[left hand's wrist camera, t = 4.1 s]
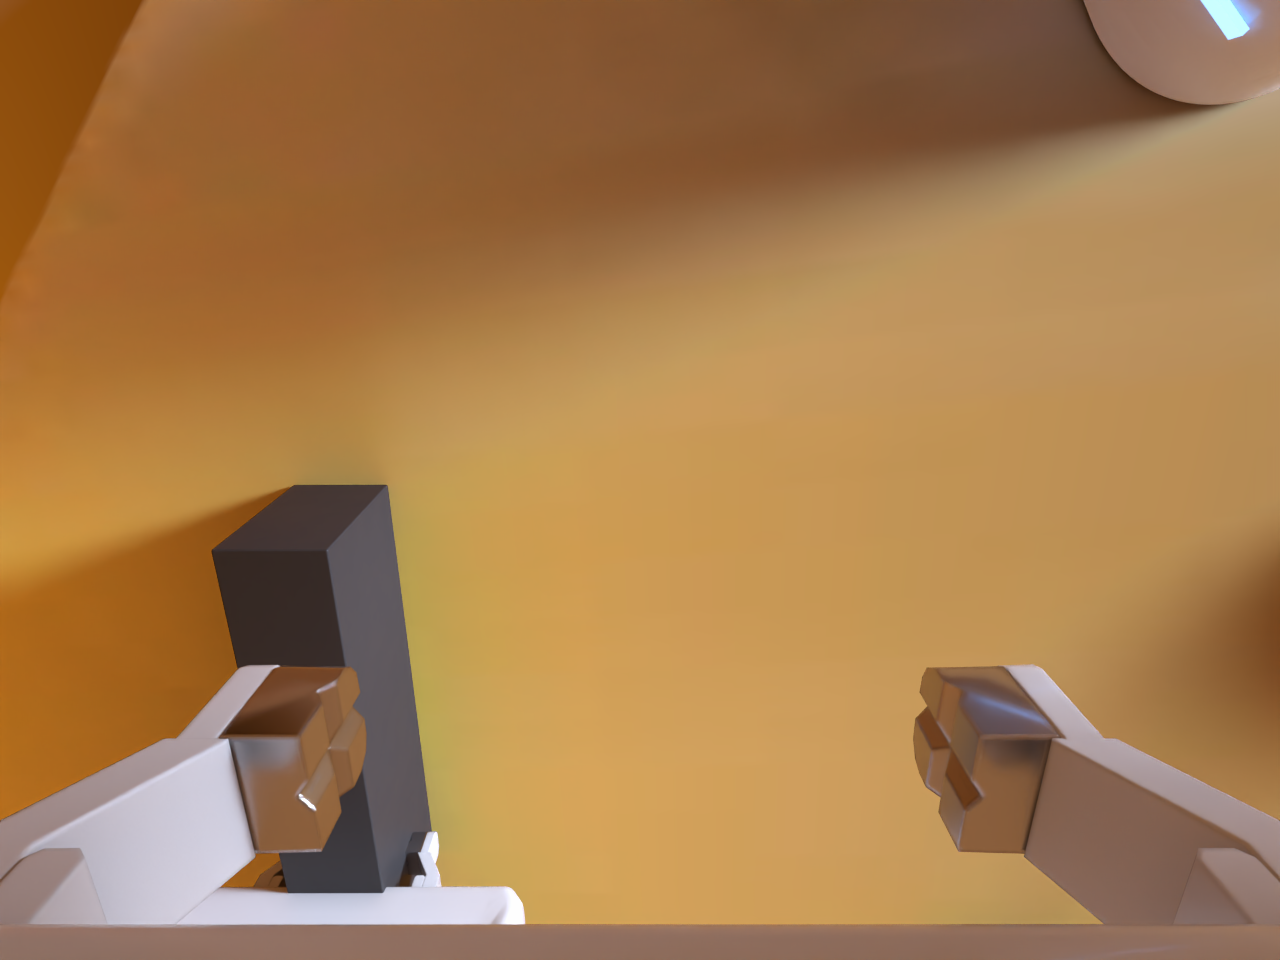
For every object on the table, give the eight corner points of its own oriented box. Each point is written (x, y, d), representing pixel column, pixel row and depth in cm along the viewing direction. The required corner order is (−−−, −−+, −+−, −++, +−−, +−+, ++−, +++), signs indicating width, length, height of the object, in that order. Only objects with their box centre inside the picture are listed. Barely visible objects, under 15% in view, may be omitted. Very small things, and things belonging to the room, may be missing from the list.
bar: (293, 484, 40) (210, 550, 32) (387, 484, 40) (327, 549, 32) (357, 853, 49) (305, 974, 41) (434, 853, 49) (396, 973, 41)
